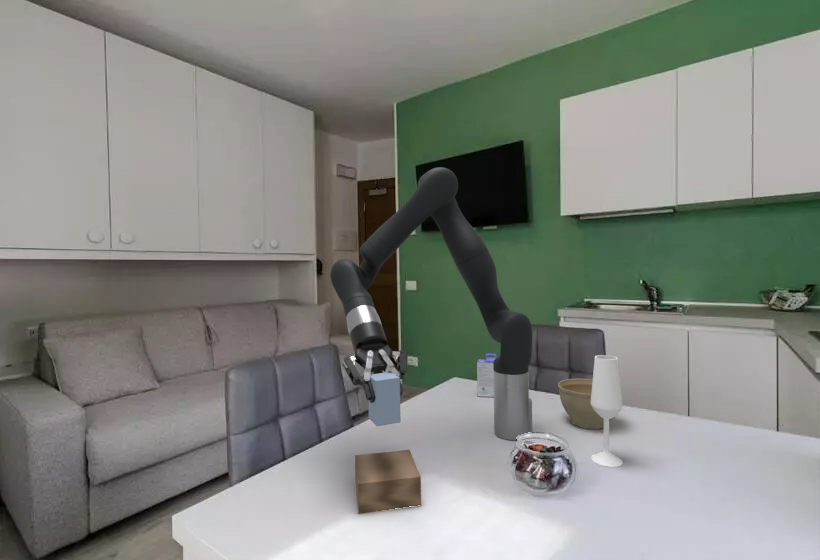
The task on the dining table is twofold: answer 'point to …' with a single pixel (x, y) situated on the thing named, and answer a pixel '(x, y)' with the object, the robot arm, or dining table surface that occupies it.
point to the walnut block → (386, 481)
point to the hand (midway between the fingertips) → (386, 398)
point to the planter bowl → (579, 403)
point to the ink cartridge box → (485, 376)
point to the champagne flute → (606, 402)
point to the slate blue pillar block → (385, 399)
